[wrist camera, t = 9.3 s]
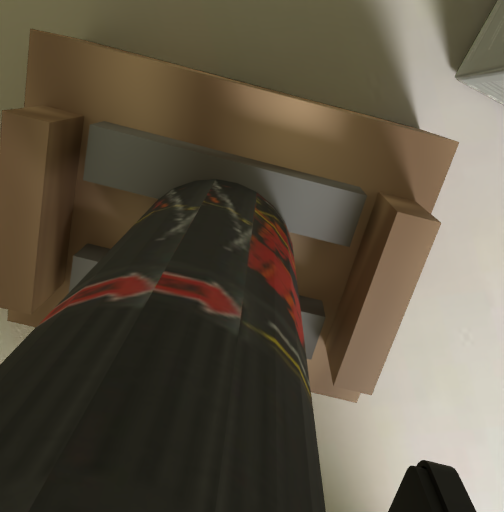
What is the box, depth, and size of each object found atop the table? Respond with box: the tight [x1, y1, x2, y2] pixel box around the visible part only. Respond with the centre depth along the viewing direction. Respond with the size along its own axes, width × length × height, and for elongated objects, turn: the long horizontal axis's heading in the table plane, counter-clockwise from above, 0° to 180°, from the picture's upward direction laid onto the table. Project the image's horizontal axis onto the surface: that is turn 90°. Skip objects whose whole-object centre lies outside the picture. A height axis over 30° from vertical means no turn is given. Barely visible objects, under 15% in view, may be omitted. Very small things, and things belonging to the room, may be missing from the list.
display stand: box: [0, 29, 459, 403], centre depth 20 cm, size 16×12×8 cm
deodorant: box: [0, 179, 326, 512], centre depth 11 cm, size 6×6×15 cm
